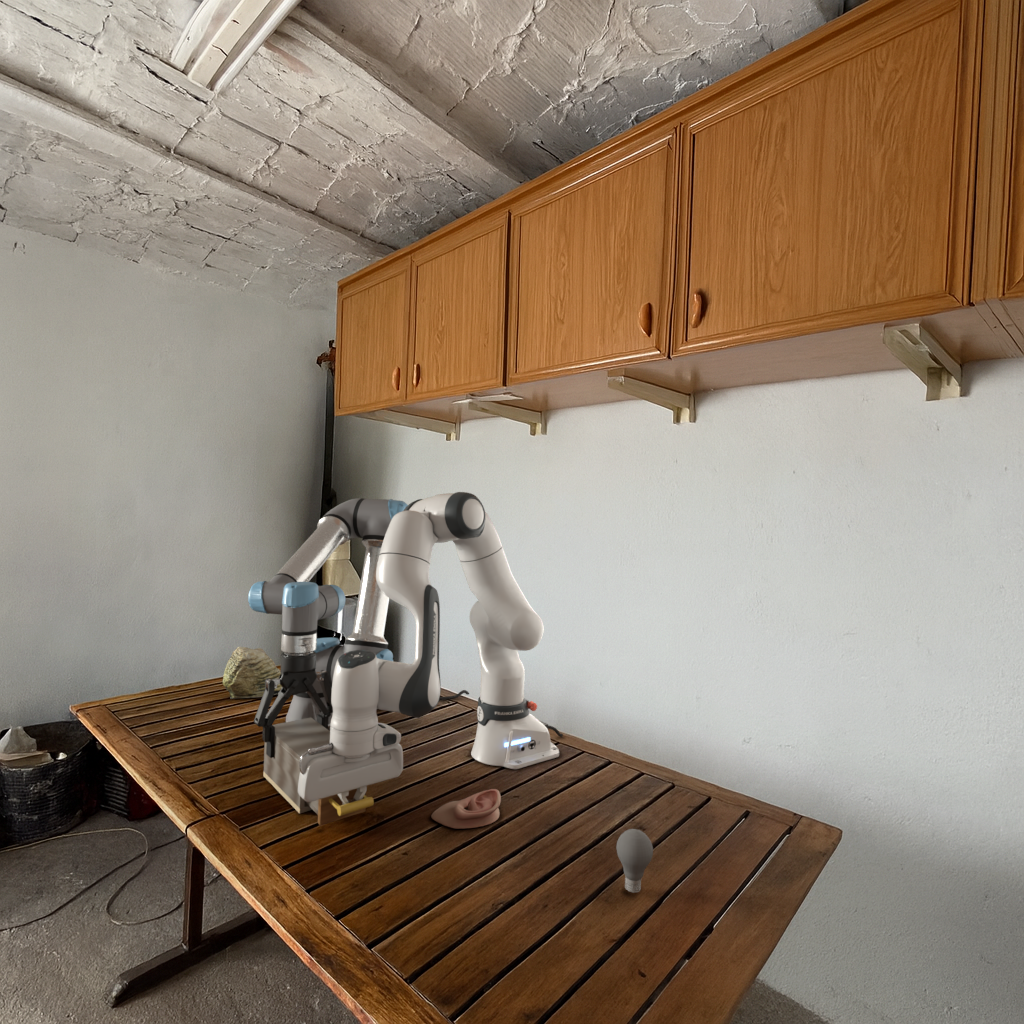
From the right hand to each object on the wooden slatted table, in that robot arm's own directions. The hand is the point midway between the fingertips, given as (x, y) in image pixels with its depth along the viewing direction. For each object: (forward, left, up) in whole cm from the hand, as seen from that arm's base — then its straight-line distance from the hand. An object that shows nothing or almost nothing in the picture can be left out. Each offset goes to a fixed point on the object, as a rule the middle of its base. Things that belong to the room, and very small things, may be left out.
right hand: (351, 810), depth 121 cm
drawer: (+2, -10, -3) cm, 11 cm away
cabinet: (+5, -22, -4) cm, 23 cm away
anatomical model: (-23, +3, -4) cm, 23 cm away
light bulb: (-38, +37, -4) cm, 53 cm away
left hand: (+6, -27, +2) cm, 28 cm away
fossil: (+9, -92, -4) cm, 92 cm away
